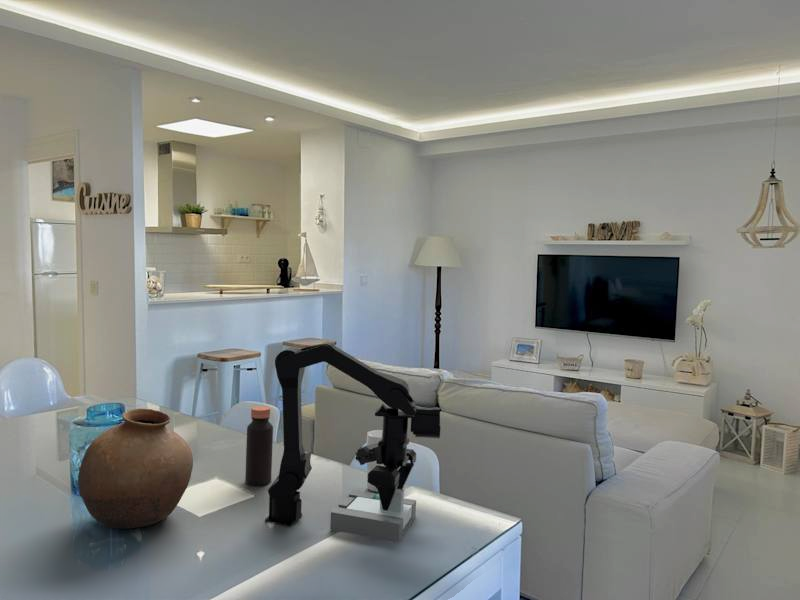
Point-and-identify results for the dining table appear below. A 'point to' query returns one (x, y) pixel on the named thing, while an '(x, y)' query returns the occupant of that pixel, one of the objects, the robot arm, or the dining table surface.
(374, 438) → the drinking glass
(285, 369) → the robot arm
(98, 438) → the pottery
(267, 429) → the bottle
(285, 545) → the dining table surface
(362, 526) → the filter housing
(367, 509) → the white stepped block
